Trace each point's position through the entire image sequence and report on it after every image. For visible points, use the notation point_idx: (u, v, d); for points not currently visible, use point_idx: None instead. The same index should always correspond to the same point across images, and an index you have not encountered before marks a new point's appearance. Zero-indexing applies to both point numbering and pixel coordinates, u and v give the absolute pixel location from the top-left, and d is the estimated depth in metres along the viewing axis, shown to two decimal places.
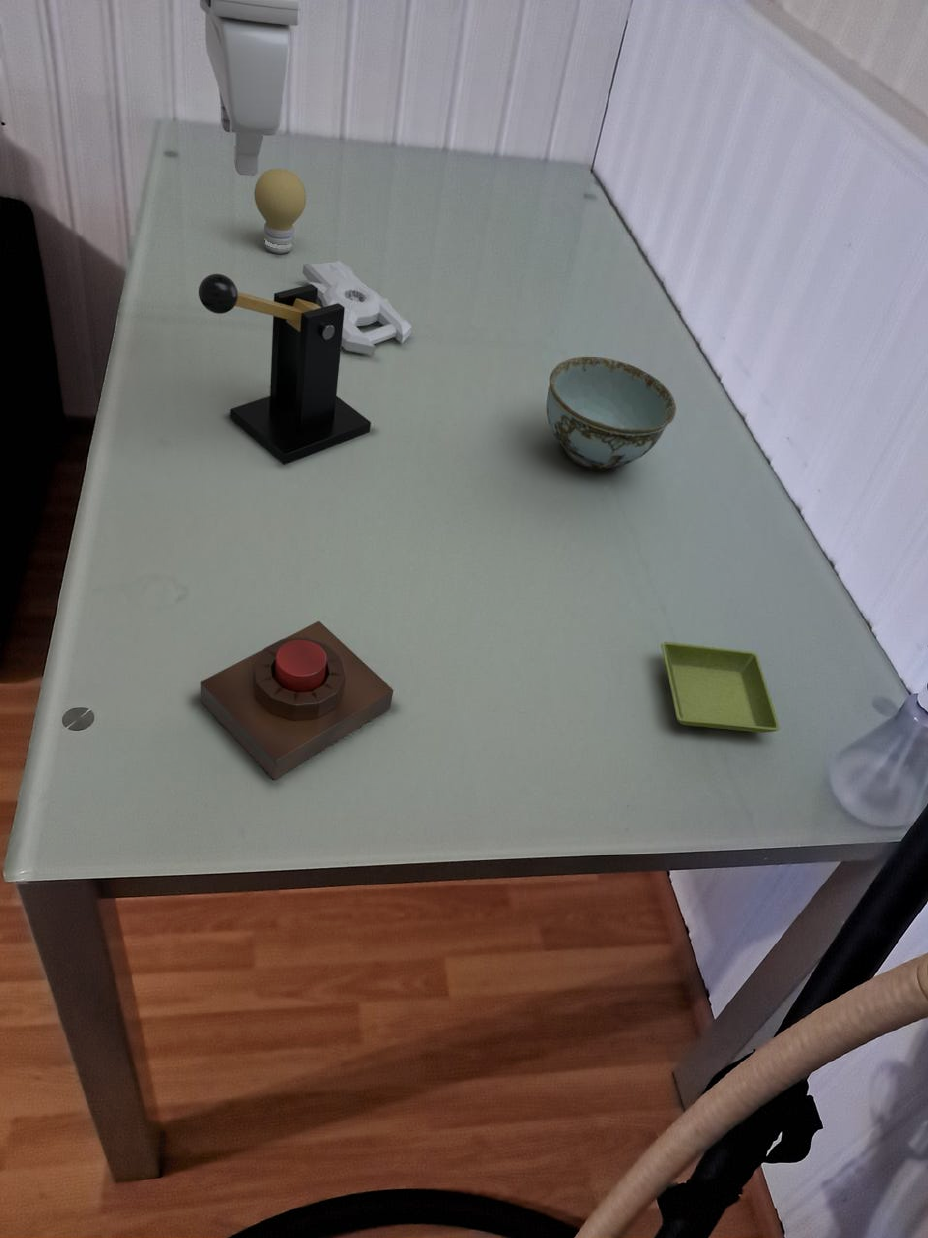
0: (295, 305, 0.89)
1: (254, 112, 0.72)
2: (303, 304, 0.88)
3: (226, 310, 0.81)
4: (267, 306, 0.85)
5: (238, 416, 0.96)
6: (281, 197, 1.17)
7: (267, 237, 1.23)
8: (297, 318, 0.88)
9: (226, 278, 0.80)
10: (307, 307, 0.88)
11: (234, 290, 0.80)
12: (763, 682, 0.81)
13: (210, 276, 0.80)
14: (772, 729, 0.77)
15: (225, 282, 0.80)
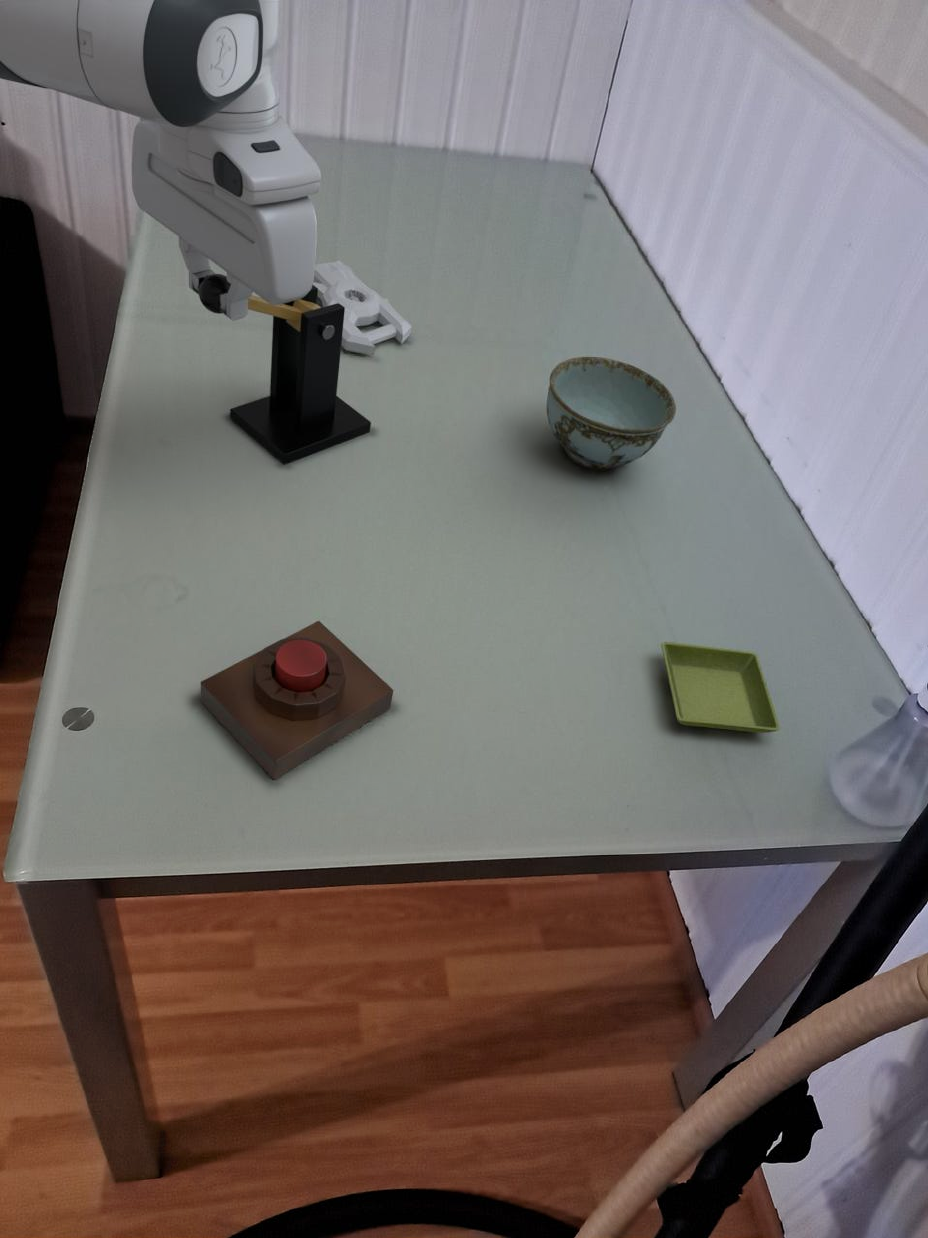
0: (295, 305, 0.89)
1: (293, 284, 0.73)
2: (303, 304, 0.88)
3: None
4: (267, 306, 0.85)
5: (238, 416, 0.96)
6: None
7: None
8: (297, 318, 0.88)
9: (226, 278, 0.80)
10: (307, 307, 0.88)
11: None
12: (763, 682, 0.81)
13: (210, 276, 0.80)
14: (772, 729, 0.77)
15: (225, 282, 0.80)
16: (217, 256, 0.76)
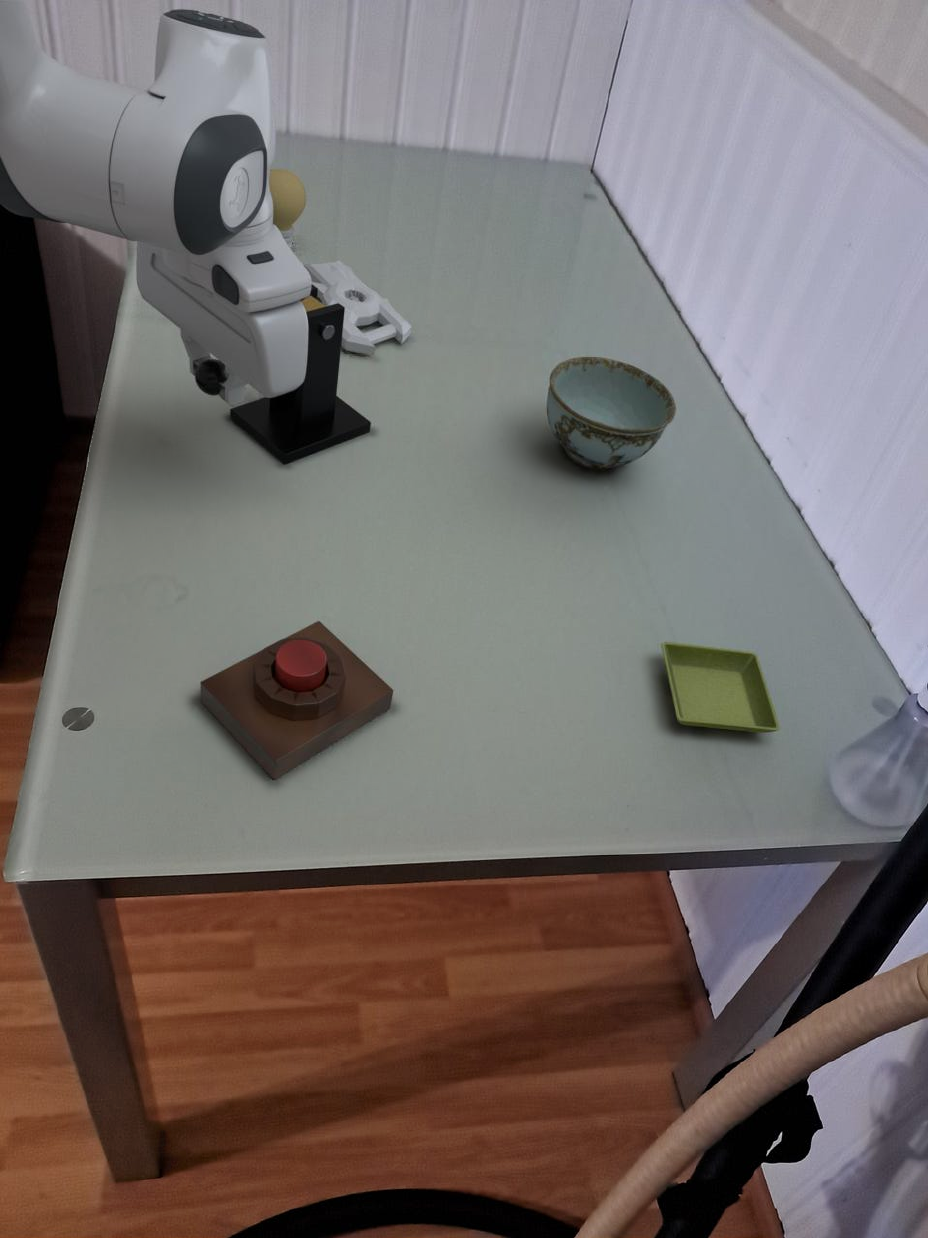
0: None
1: (287, 379, 0.78)
2: None
3: None
4: None
5: (238, 416, 0.96)
6: (281, 197, 1.17)
7: None
8: None
9: (210, 366, 0.85)
10: None
11: (222, 373, 0.85)
12: (763, 682, 0.81)
13: (197, 371, 0.85)
14: (772, 729, 0.77)
15: (210, 373, 0.85)
16: (216, 350, 0.81)
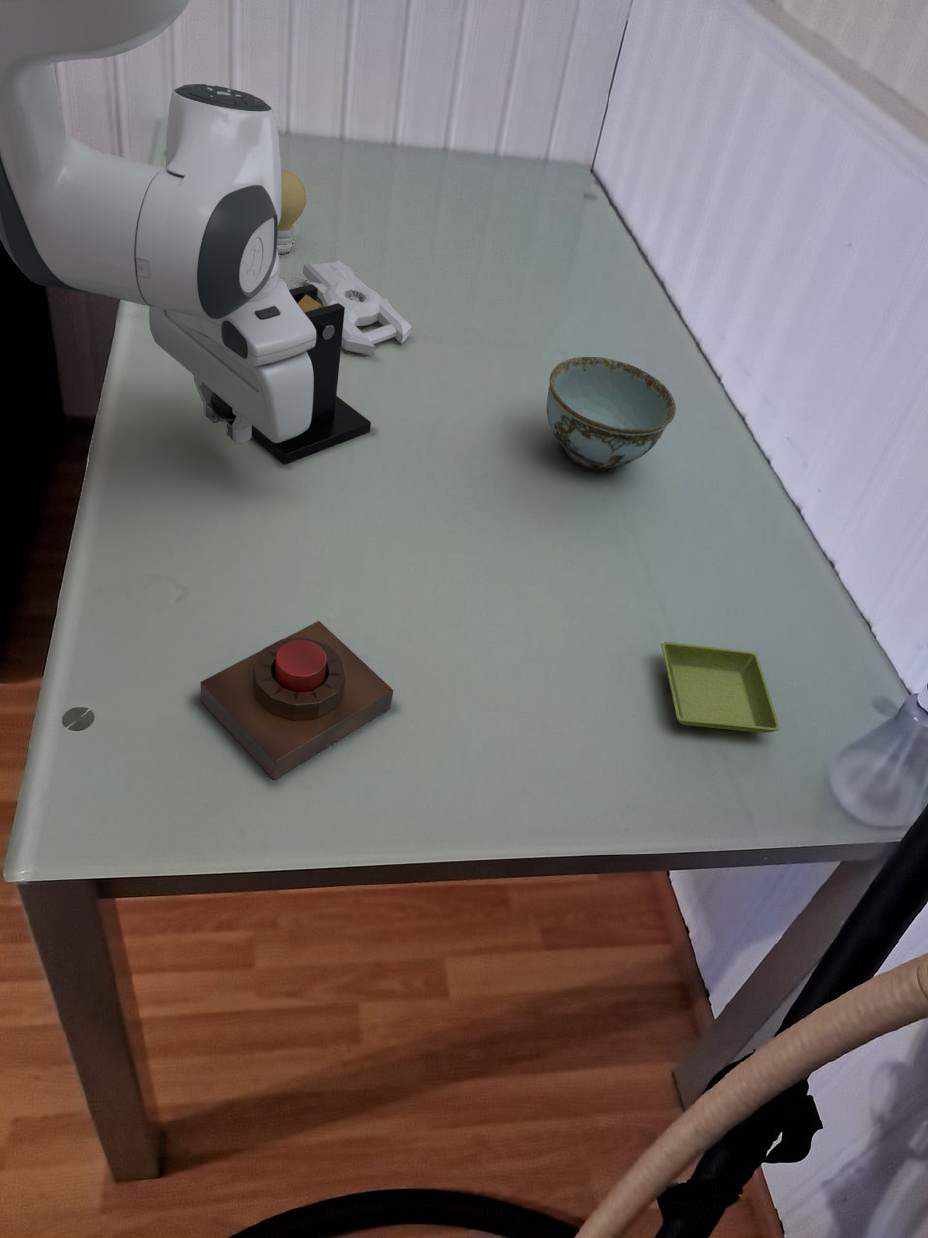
0: None
1: (293, 426, 0.82)
2: None
3: None
4: None
5: None
6: None
7: None
8: None
9: None
10: None
11: None
12: (763, 682, 0.81)
13: (211, 402, 0.88)
14: (772, 729, 0.77)
15: (223, 402, 0.88)
16: (226, 396, 0.85)
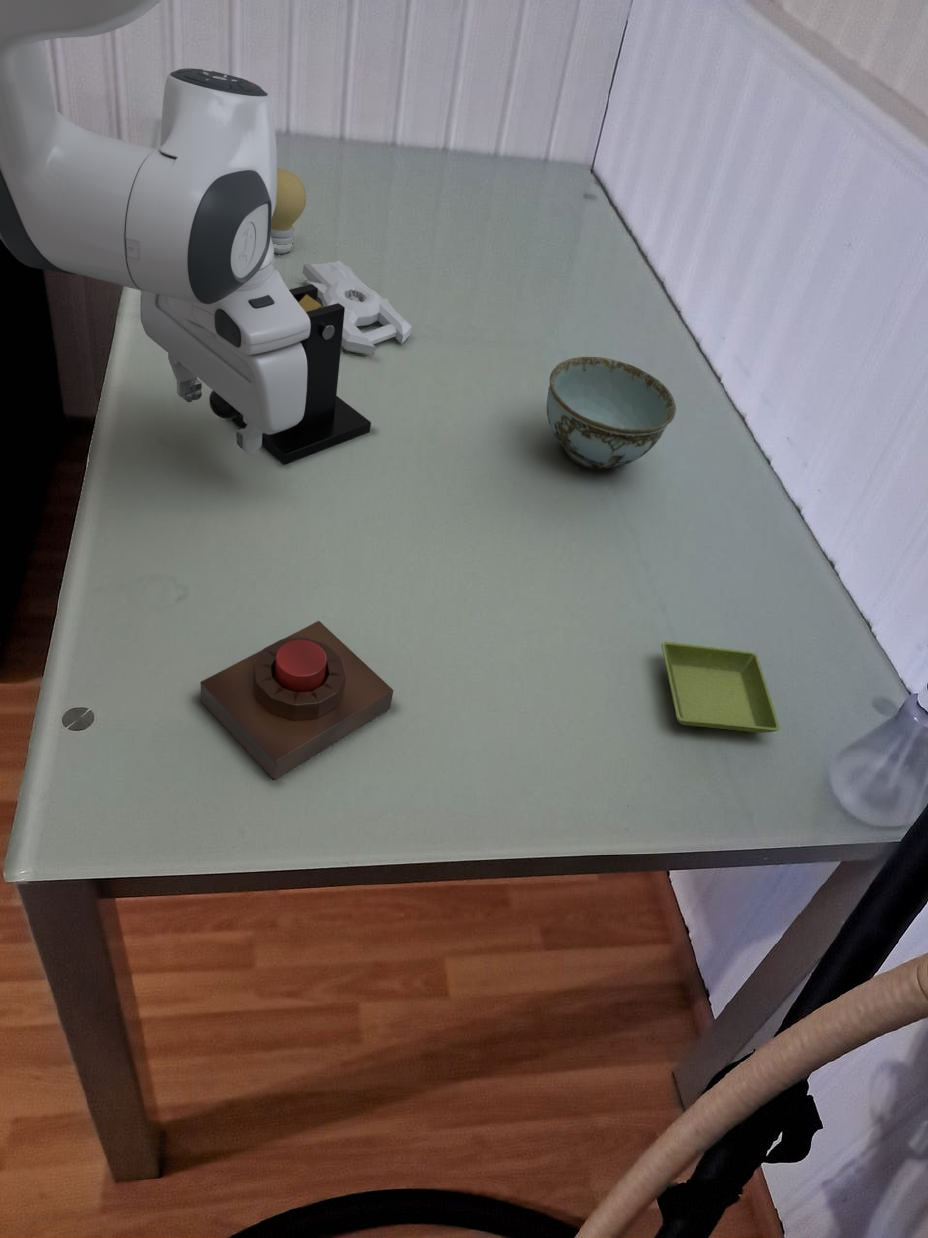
0: None
1: (286, 417, 0.81)
2: None
3: None
4: None
5: (238, 416, 0.96)
6: (281, 197, 1.17)
7: None
8: None
9: None
10: None
11: None
12: (763, 682, 0.81)
13: (210, 400, 0.88)
14: (772, 729, 0.77)
15: (222, 401, 0.88)
16: (218, 388, 0.84)
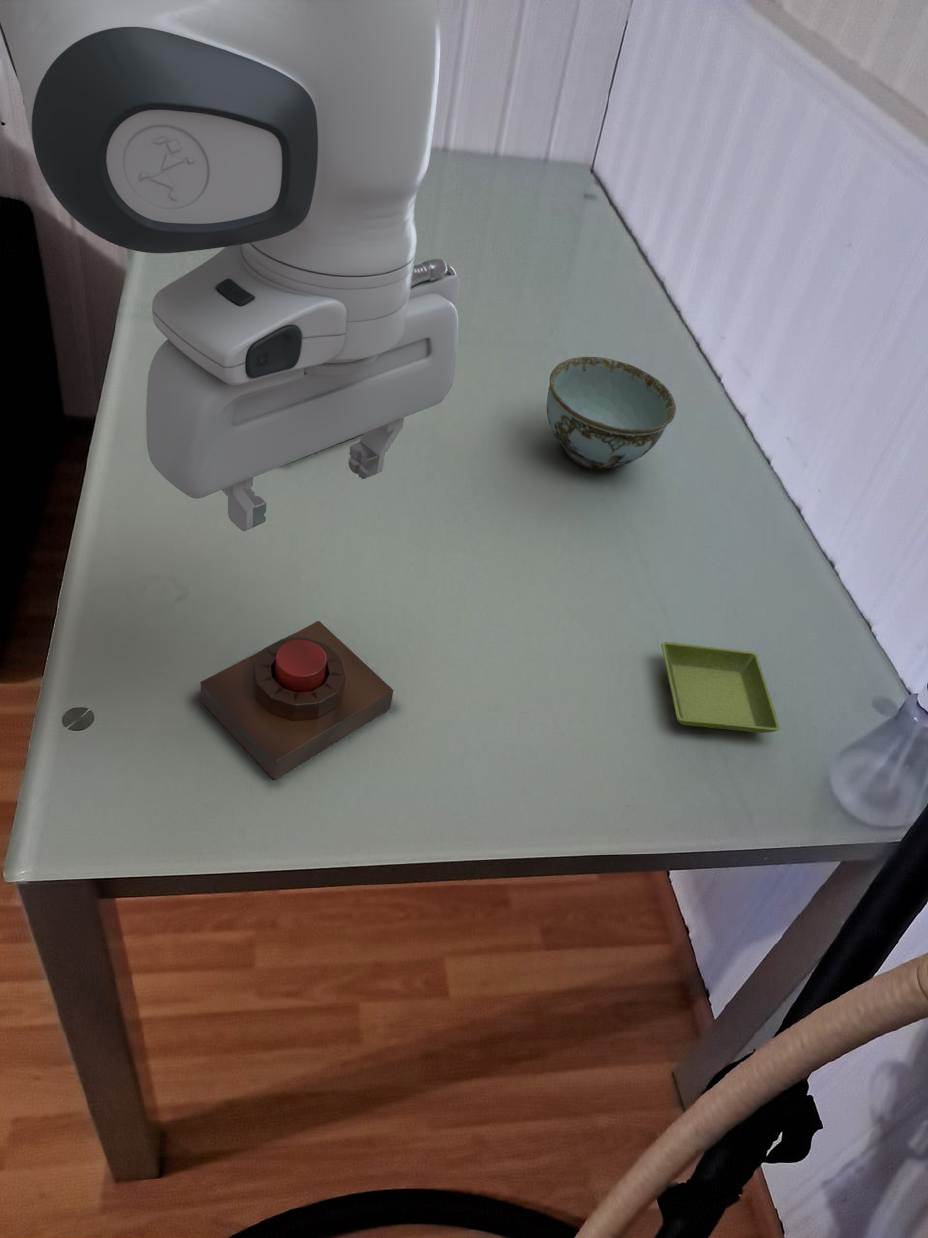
0: None
1: (162, 460, 0.50)
2: None
3: None
4: None
5: None
6: None
7: None
8: None
9: None
10: None
11: None
12: (763, 682, 0.81)
13: None
14: (772, 729, 0.77)
15: None
16: None
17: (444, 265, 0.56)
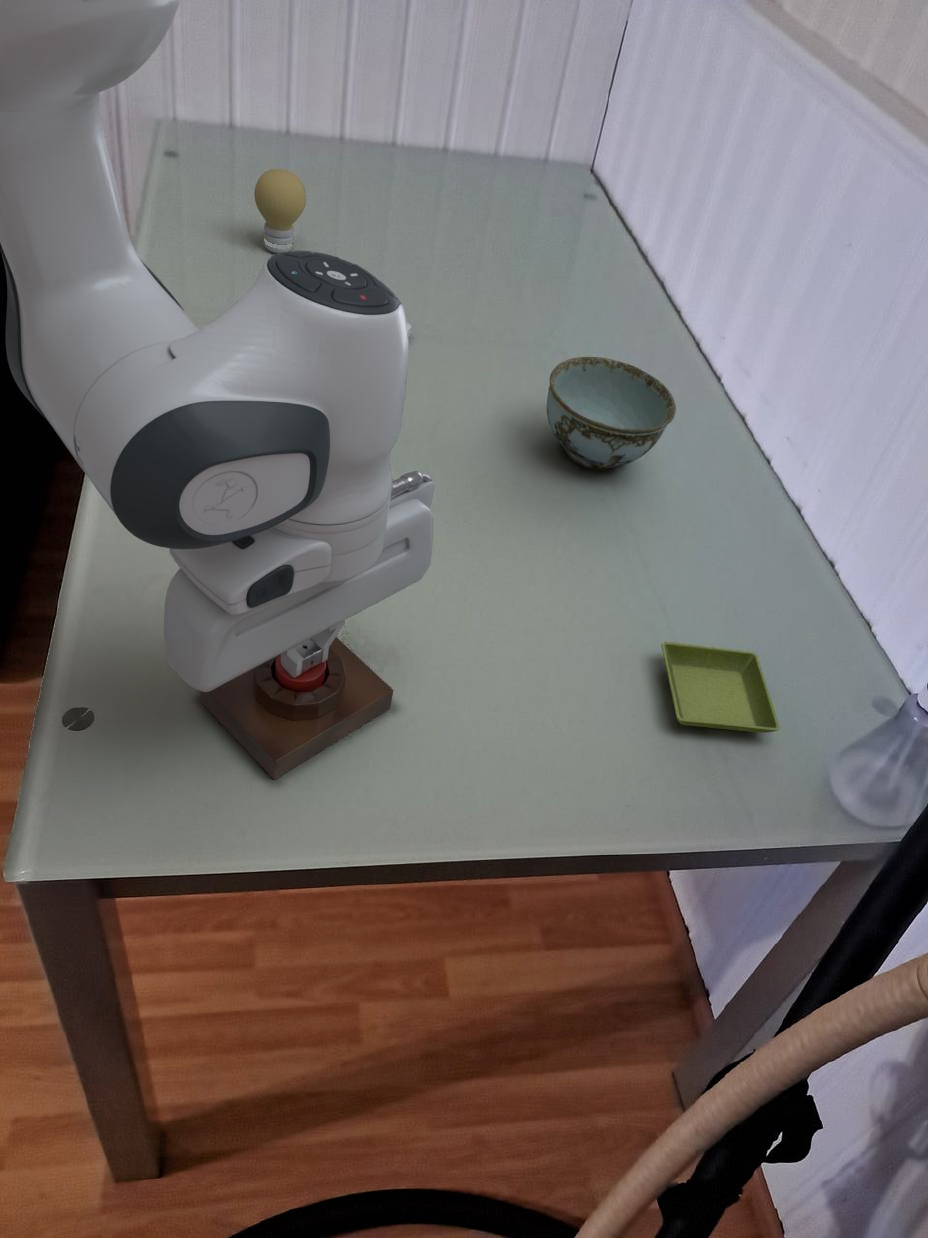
0: None
1: (177, 662, 0.59)
2: None
3: None
4: None
5: None
6: (281, 197, 1.17)
7: (267, 237, 1.23)
8: None
9: None
10: None
11: None
12: (763, 682, 0.81)
13: None
14: (772, 729, 0.77)
15: None
16: None
17: (420, 477, 0.65)
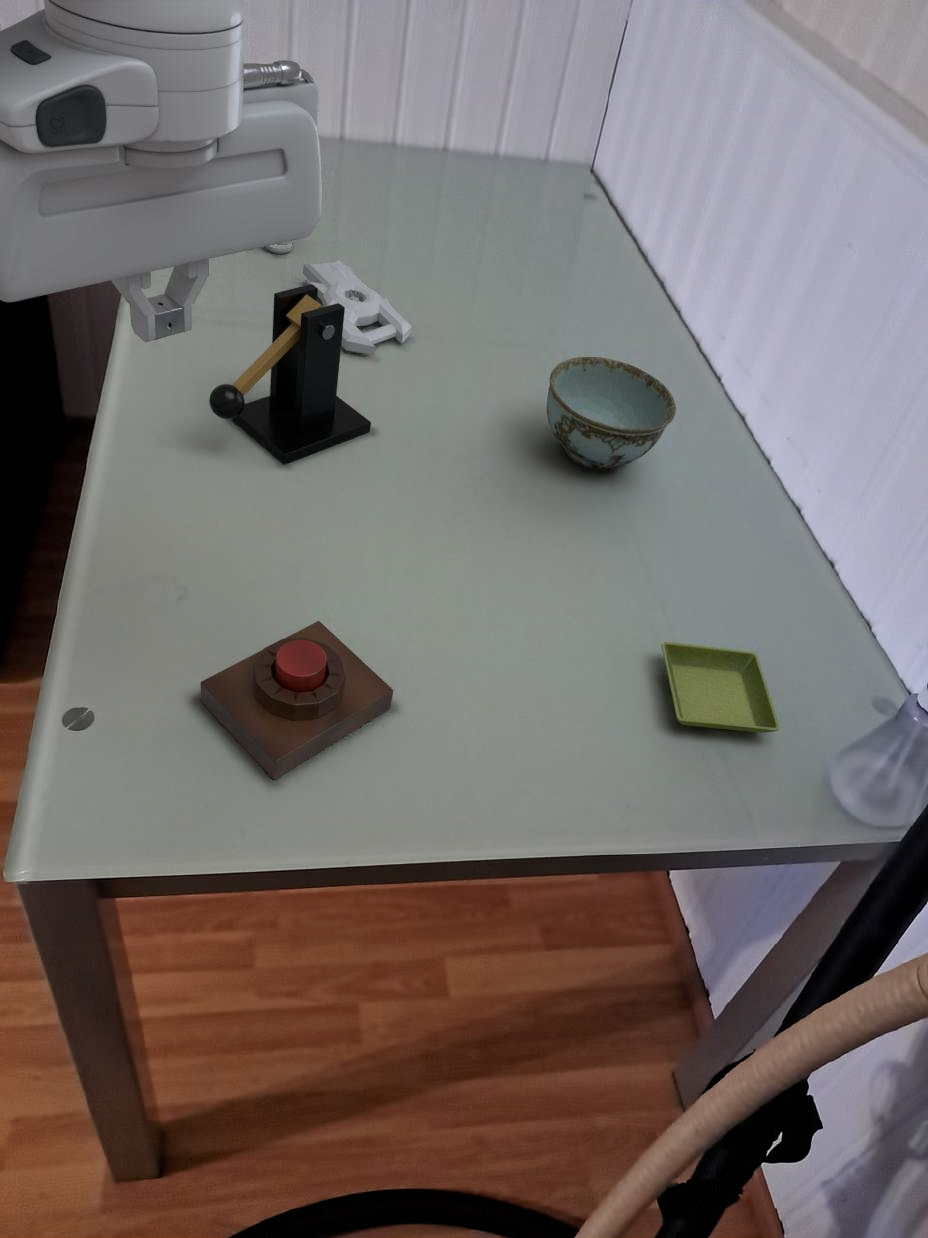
0: (290, 320, 0.90)
1: None
2: (294, 321, 0.89)
3: (241, 411, 0.89)
4: (268, 363, 0.89)
5: (238, 416, 0.96)
6: None
7: None
8: (299, 335, 0.90)
9: (220, 395, 0.88)
10: (298, 324, 0.89)
11: (232, 399, 0.88)
12: (763, 682, 0.81)
13: (210, 400, 0.88)
14: (772, 729, 0.77)
15: (222, 401, 0.88)
16: None
17: (297, 67, 0.51)
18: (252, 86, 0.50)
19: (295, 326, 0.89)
